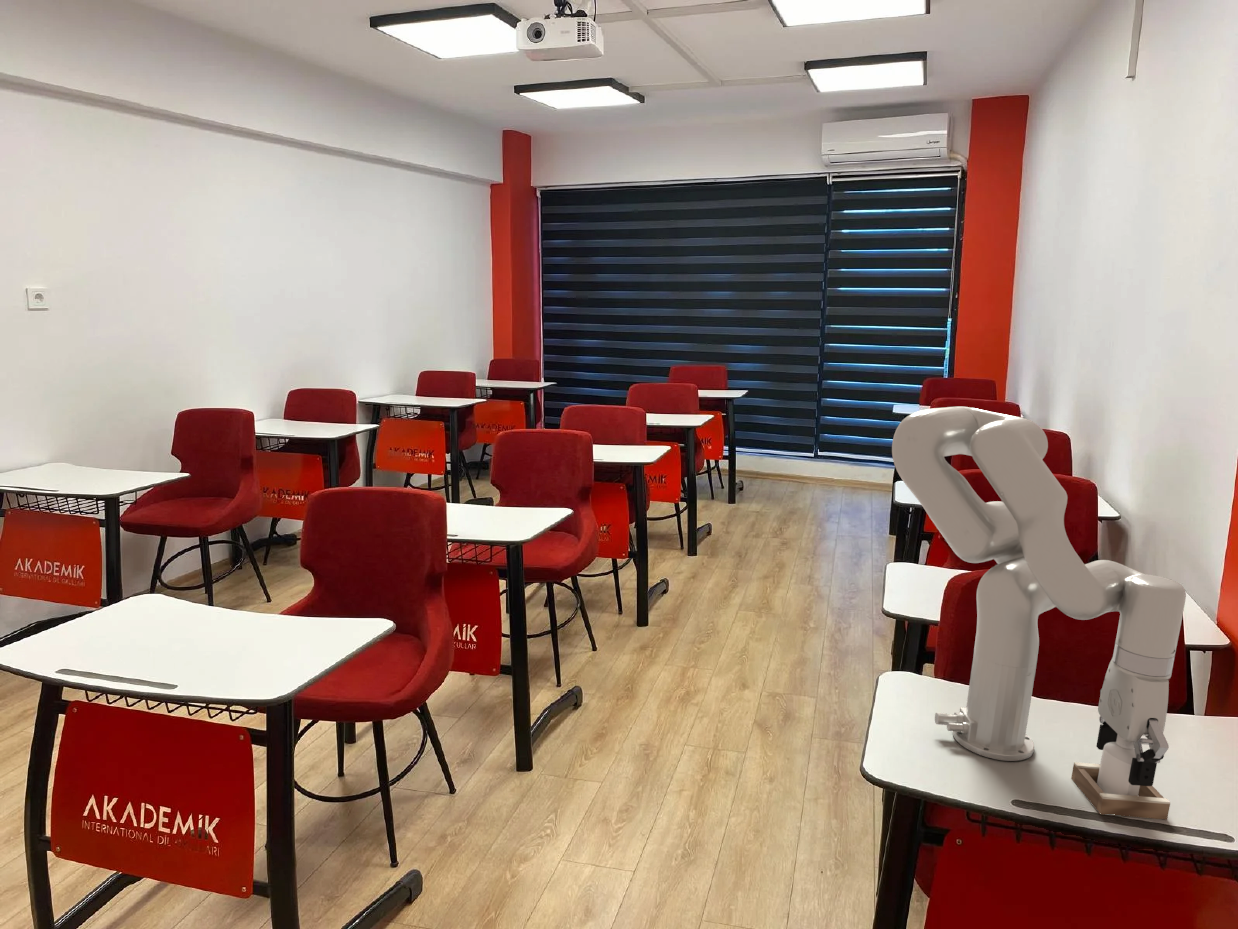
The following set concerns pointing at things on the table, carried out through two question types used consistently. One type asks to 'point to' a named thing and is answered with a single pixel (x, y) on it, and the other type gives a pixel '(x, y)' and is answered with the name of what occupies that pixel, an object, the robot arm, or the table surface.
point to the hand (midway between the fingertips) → (1123, 766)
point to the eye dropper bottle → (1117, 768)
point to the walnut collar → (1119, 796)
